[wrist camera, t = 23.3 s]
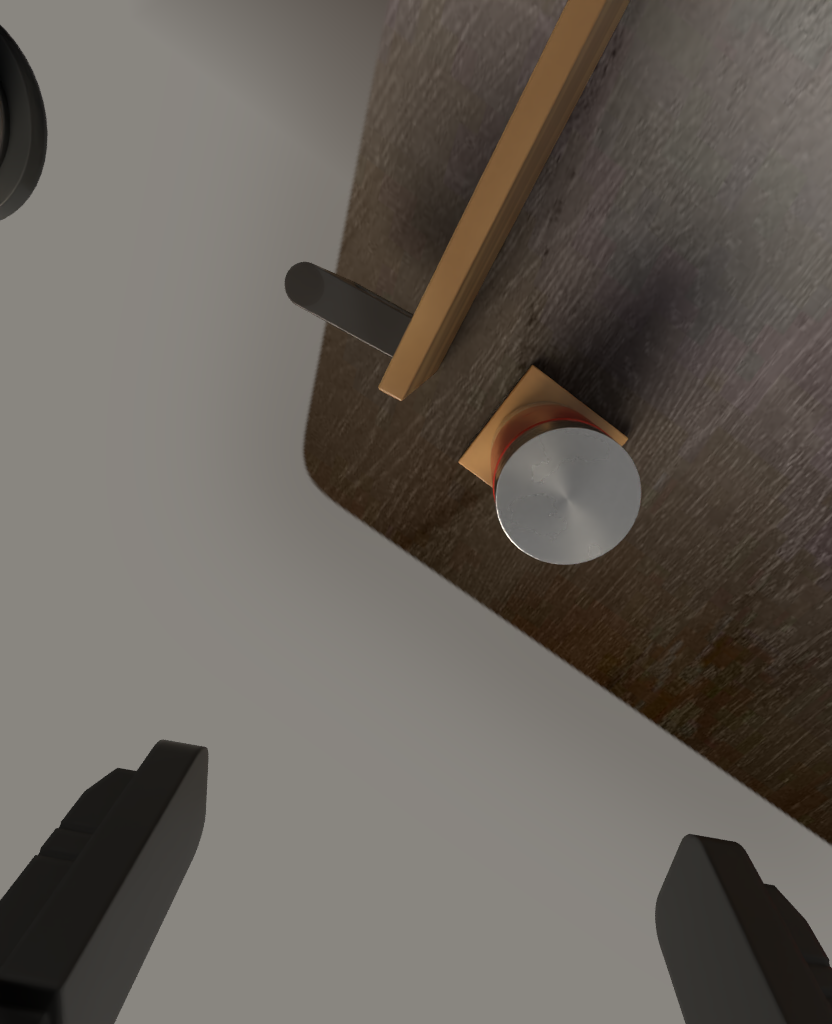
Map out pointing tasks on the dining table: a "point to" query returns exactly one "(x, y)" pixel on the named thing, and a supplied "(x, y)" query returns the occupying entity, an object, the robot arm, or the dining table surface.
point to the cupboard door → (470, 214)
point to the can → (562, 484)
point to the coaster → (526, 391)
